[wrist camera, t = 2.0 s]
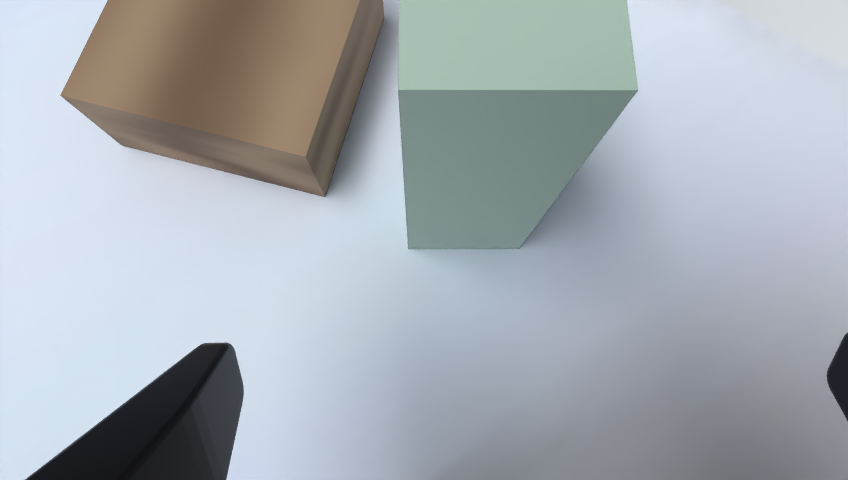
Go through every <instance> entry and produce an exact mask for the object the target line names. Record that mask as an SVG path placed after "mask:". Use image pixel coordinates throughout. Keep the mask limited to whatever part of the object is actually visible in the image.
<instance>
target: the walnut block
mask: <svg viewBox="0 0 848 480" xmlns="http://www.w3.org/2000/svg"><path fill="white" fill-rule="evenodd" d="M383 20H384V11H383V0H108V1H107V3H106V5H105V7H104V9H103V11H102V13H101V15H100V17H99V19H98V21H97V23H96V25H95V27H94V29H93V31H92V33H91V35H90V37H89V39H88V41H87V43H86V45H85V47H84V49H83V51H82V53H81V55H80V57H79V59H78V61H77V63H76V65H75V67H74V69H73V71H72V73H71V75H70V77H69V79H68V81H67V83H66V85H65V87H64V89H63V91H62V93H61V95H60V96H62V97H63V98H64V99H65V100H67V101H68V102H69V103H70V104H71V105H73V106H74V107H75V108H76V109H78V110H79V111H80V112H81V113H83V114H84V115H85V116H86V117H87V118H89V119H90V120H91V121H92V122H94V123H95V124H96V125H97V126H99V127H100V128H101V129H102V130H103V131H105V132H106V133H107V134H108V135H110V136H111V137H112V138H113V139H115V140H116V141H117V142H118V143H119V144H121V145H123V146H127V147H131V148H135V149H138V150H142V151H146V152H150V153H154V154H158V155H162V156H166V157H170V158H174V159H178V160H182V161H186V162H190V163H194V164H198V165H201V166H205V167H209V168H213V169H217V170H221V171H225V172H229V173H233V174H237V175H241V176H245V177H249V178H253V179H257V180H261V181H264V182H268V183H272V184H276V185H280V186H284V187H288V188H292V189H296V190H300V191H304V192H308V193H312V194H316V195H320V196H324V197H325V195H326V192H327V189H328V186H329V183H330V180H331V177H332V174H333V171H334V168H335V165H336V162H337V159H338V156H339V153H340V150H341V147H342V144H343V141H344V138H345V135H346V132H347V129H348V126H349V123H350V120H351V117H352V114H353V111H354V108H355V105H356V101H357V98H358V95H359V92H360V89H361V86H362V83H363V80H364V77H365V74H366V71H367V68H368V65H369V62H370V59H371V56H372V53H373V50H374V47H375V44H376V41H377V38H378V35H379V32H380V29H381V26H382V23H383Z"/></svg>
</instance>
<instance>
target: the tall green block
mask: <svg viewBox="0 0 848 480" xmlns="http://www.w3.org/2000/svg"><path fill="white" fill-rule="evenodd" d="M637 91H638V86H637V78H636V70H635V62H634V54H633V46H632V38H631V30H630V22H629V15H628V7H627V0H399V42H398V96H399V111H400V127H401V143H402V159H403V175H404V191H405V206H406V222H407V238H408V249H519V248H520V247H521V245H522V244H523V243H524V241H525V240H526V239H527V237H528V236H529V235H530V233H531V232H532V231H533V229H534V228H535V227H536V225H537V224H538V223H539V221H540V220H541V219H542V217H543V216H544V215H545V213H546V212H547V211H548V209H549V208H550V207H551V205H552V204H553V203H554V201H555V200H556V199H557V197H558V196H559V195H560V193H561V192H562V191H563V189H564V188H565V187H566V185H567V184H568V183H569V181H570V180H571V179H572V177H573V176H574V175H575V173H576V172H577V171H578V169H579V168H580V167H581V165H582V164H583V163H584V162H585V160H586V159H587V158H588V156H589V155H590V154H591V152H592V151H593V150H594V148H595V147H596V146H597V144H598V143H599V142H600V140H601V139H602V138H603V136H604V135H605V134H606V132H607V131H608V130H609V128H610V127H611V126H612V124H613V123H614V122H615V120H616V119H617V118H618V116H619V115H620V114H621V112H622V111H623V110H624V108H625V107H626V106H627V104H628V103H629V102H630V100H631V99H632V98H633V96H634V95H635V94H636V92H637Z"/></svg>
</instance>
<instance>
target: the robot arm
mask: <svg viewBox="0 0 848 480" xmlns="http://www.w3.org/2000/svg"><path fill="white" fill-rule="evenodd" d="M827 382H828V385H829V387H830V390H831V391H832V393H833V395H834V397H835V399H836V401H837V402H838V404H839V406H840V408H841V410H842V411H843V413H844V415H845V417H846V419H847V421H848V333H846V334H845V336H844V337H843V339H842V341H841V343H840V345H839V347H838V350H837V352H836V354H835V356H834V358H833V360H832V362H831V364H830V366H829V368H828V371H827ZM243 395H244V388H243V381H242V377H241V373H240V369H239V365H238V361H237V357H236V353H235V350H234V348H233V346H232V345H231V344H229V343H205V344H201V345H200V346H198V347H197V348H195V349H194V350H193V351H191V352H190V353H189V354H188V355H186V356H185V357H184V358H182V359H181V360H180V361H178V362H177V363H176V364H175V365H173V366H172V367H171V368H169V369H168V370H167V371H165V372H164V373H163V374H162V375H160V376H159V377H158V378H156V379H155V380H154V381H152V382H151V383H150V384H149V385H147V386H146V387H145V388H143V389H142V390H141V391H139V392H138V393H137V394H136V395H134V396H133V397H132V398H130V399H129V400H128V401H127V402H125V403H124V404H123V405H121V406H120V407H119V408H117V409H116V410H115V411H114V412H112V413H111V414H110V415H108V416H107V417H106V418H104V419H103V420H102V421H101V422H99V423H98V424H97V425H95V426H94V427H93V428H91V429H90V430H89V431H88V432H86V433H85V434H84V435H82V436H81V437H80V438H78V439H77V440H76V441H75V442H73V443H72V444H71V445H69V446H68V447H67V448H66V449H64V450H63V451H62V452H60V453H59V454H58V455H56V456H55V457H54V458H53V459H51V460H50V461H49V462H47V463H46V464H45V465H43V466H42V467H41V468H40V469H38V470H37V471H36V472H34V473H33V474H32V475H30V476H29V477H28V478H27V479H25V480H226V478H227V474H228V469H229V464H230V459H231V455H232V450H233V445H234V440H235V436H236V431H237V426H238V421H239V417H240V412H241V407H242V402H243Z"/></svg>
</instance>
